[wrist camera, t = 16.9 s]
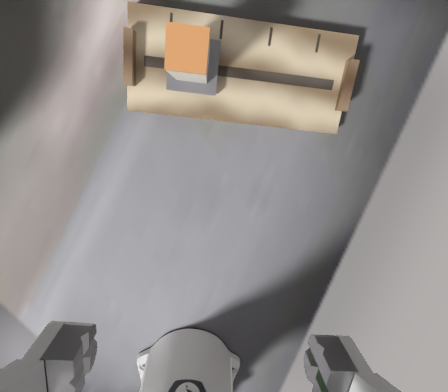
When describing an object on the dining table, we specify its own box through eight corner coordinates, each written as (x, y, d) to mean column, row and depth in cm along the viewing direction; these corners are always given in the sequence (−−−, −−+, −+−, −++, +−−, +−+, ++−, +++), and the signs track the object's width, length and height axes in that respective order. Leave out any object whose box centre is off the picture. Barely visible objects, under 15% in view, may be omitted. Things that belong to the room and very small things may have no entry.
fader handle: (215, 95, 35) (218, 90, 24) (167, 89, 34) (149, 82, 24) (220, 43, 33) (225, 12, 22) (170, 36, 32) (151, 2, 22)
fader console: (330, 132, 39) (341, 135, 36) (131, 110, 37) (123, 110, 34) (351, 39, 36) (366, 32, 32) (132, 7, 33) (123, -4, 30)
